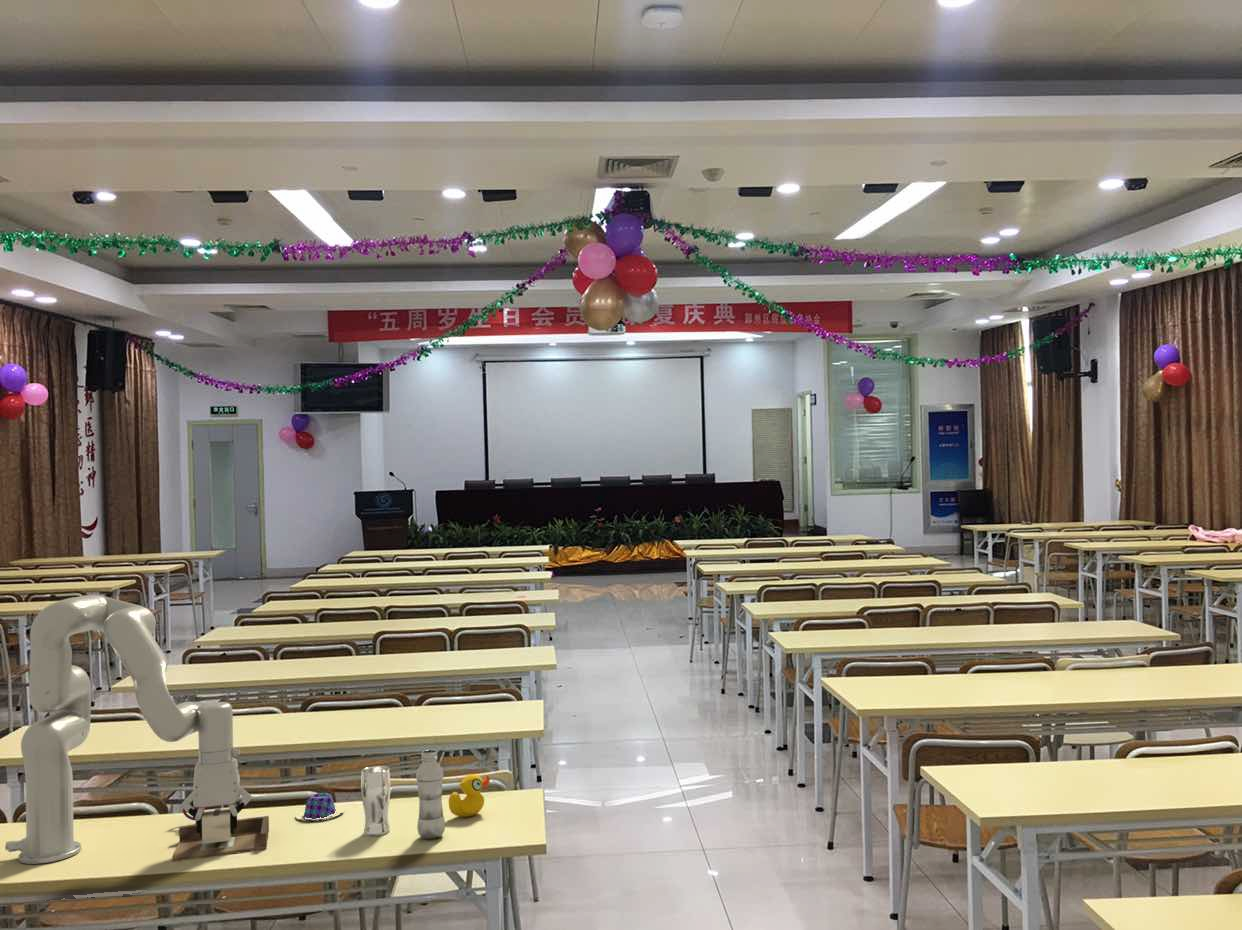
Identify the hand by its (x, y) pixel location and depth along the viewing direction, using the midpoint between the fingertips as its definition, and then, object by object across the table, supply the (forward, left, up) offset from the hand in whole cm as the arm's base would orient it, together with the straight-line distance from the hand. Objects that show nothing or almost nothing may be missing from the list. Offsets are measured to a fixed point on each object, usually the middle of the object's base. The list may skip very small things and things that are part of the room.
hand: (217, 833), depth 232 cm
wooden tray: (+1, 0, -3) cm, 3 cm away
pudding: (+23, +15, -4) cm, 28 cm away
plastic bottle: (+48, -14, -3) cm, 50 cm away
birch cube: (0, 0, -1) cm, 1 cm away
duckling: (+59, -1, -3) cm, 59 cm away
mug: (-5, +20, -3) cm, 21 cm away
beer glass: (+36, -5, -3) cm, 37 cm away
